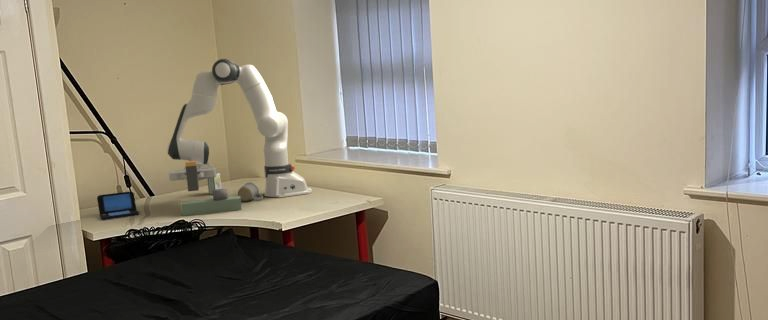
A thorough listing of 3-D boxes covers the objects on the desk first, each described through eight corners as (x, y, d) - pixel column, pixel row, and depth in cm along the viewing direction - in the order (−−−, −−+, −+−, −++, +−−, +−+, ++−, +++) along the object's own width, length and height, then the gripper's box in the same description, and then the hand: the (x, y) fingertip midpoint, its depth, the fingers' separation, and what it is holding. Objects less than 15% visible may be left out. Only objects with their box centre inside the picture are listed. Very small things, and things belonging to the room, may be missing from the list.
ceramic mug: (237, 202, 327) (236, 185, 326) (244, 198, 335) (242, 182, 334) (259, 202, 325) (258, 185, 324) (265, 198, 333) (264, 182, 332)
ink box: (216, 194, 349) (213, 167, 347) (208, 195, 350) (205, 168, 348) (222, 192, 356) (219, 165, 354) (214, 192, 357) (212, 165, 355)
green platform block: (240, 204, 322) (239, 184, 321) (241, 209, 310) (239, 189, 309) (183, 210, 317) (181, 190, 315) (182, 215, 305) (180, 195, 303)
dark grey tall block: (199, 188, 317) (196, 160, 315) (198, 190, 311) (195, 162, 309) (188, 189, 316) (186, 161, 314) (188, 191, 310) (185, 162, 308)
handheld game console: (101, 221, 306) (99, 200, 305) (98, 215, 318) (96, 195, 316) (139, 215, 313) (137, 194, 311) (135, 210, 325) (133, 190, 323)
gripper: (169, 167, 323) (166, 171, 309) (215, 163, 327) (215, 167, 314) (170, 180, 324) (168, 186, 310) (216, 176, 328) (216, 181, 314)
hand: (192, 176), depth 312 cm, fingers closed on dark grey tall block, 4 cm apart
